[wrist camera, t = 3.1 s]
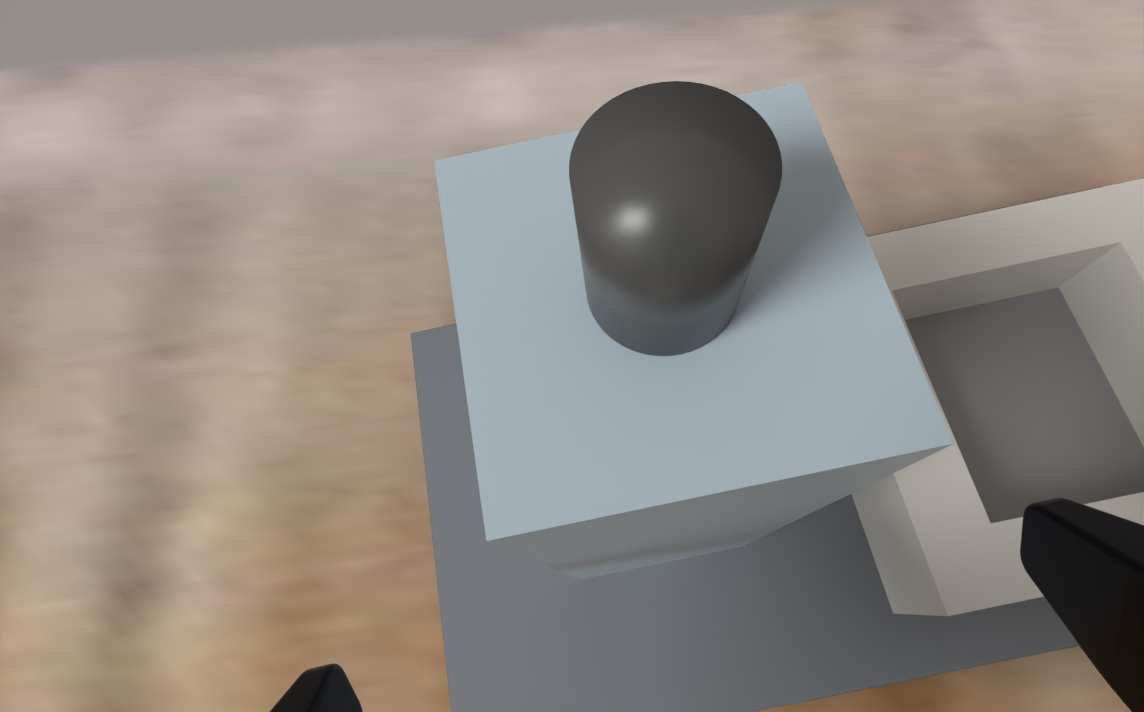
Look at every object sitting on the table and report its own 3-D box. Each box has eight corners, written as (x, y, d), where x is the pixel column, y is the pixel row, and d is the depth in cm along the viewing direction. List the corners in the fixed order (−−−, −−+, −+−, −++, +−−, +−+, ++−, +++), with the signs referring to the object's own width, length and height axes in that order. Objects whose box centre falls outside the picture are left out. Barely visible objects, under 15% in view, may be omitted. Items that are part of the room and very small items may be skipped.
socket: (1246, 541, 16) (1376, 528, 13) (893, 614, 16) (947, 616, 13) (1076, 237, 19) (1151, 176, 17) (783, 299, 19) (808, 249, 17)
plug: (742, 546, 17) (1103, 371, 4) (580, 579, 17) (419, 512, 4) (699, 392, 19) (857, -89, 6) (551, 423, 19) (369, 16, 6)
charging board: (1081, 205, 21) (1102, 186, 20) (1304, 591, 16) (1345, 591, 16) (420, 345, 21) (410, 333, 20) (467, 762, 17) (457, 771, 16)
